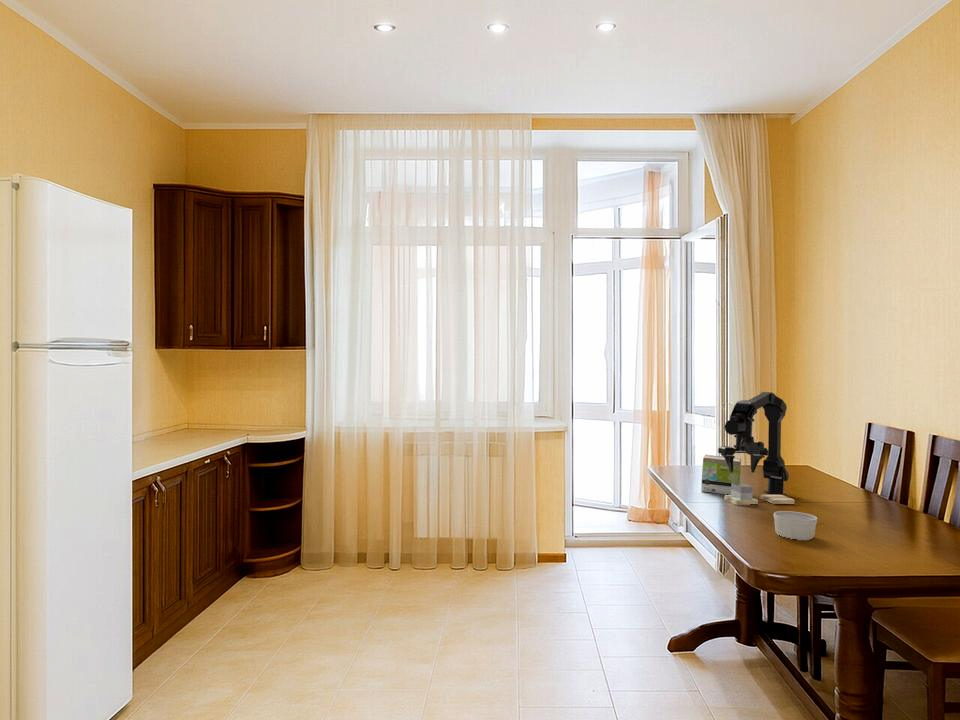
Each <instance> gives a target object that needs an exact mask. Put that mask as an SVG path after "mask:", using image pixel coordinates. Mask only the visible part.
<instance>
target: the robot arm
mask: <svg viewBox="0 0 960 720" xmlns="http://www.w3.org/2000/svg"><path fill="white" fill-rule="evenodd" d="M761 408H762V409H763V413H764V417H765V418H766V420H767V421H768V435H767V440H768V443H767V448H766V447H765V443H764V442H763V441H758V442H757V441H756V442H755V438H754V436H753V434H752V433H753V422H755V419H754V416H755V415H756V414H758V410H759V409H761ZM787 408H788V407H787V404H786V402H785V401H784V400H783V399H782V398H780V397H779V396H777V395H776V394H775V393H774V392H770V391H769V392H768V391H762V392H760V393H759V394H757V395H756V396H753V397H752V398H750V399H743V400H737V402H736V403H735V404H734V407H733V408H732V410H731V414H730V416H729V420H727V421H726V422H725V424H724V430H725V432H726V434H728V435H733V436H734V438H735V444H734V445H733V447H732V446H729V445H720V446H719V447H718V449H717V453H718V454H720V456H724V458H725V460H726V462H727V465H728V467H729V470H730V472H731V473H733V460H734V458H736V456H735V455H736V454H747V455H750V471H751V472H750V473H752V474H754V473H755V471H756V469H757V466H758V464H759V462H760V461H761V459H763V458H765V459H763V462H762V463H763V464H762V475H763V479H767V490H764V491H763V492H764V493H766V492H767V493H766V494H769V493H770V494H769V495H779V494H780V495H781V494H782V495H783V496H786V495H787V493H785V492H784V486H785V485H784V482H788V481H789V473H788V471H787V469H786V465H785V460H784V459H783V457H782V455H781V449H782V448H781V447H782V441H781V440H782V421H783V419H785V416H786V412H787ZM734 454H735V455H734Z"/></svg>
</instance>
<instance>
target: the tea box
mask: <svg viewBox="0 0 960 720" xmlns="http://www.w3.org/2000/svg"><path fill="white" fill-rule="evenodd" d="M741 467H742V458H739V457H735V458H734V460H733V473H731V472H730V470H729V467H728V465H727V462H726V460H725V458H724V456H722V455H712V454H705V455H704V456H703V458H702V469H701V471H702V472H701V473H702V474H701V485H700V487H701V488H700V490H701V493H705V492H706V493H713V494H720V495H727V494H728V495H731V483H741V469H742V468H741Z"/></svg>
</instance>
